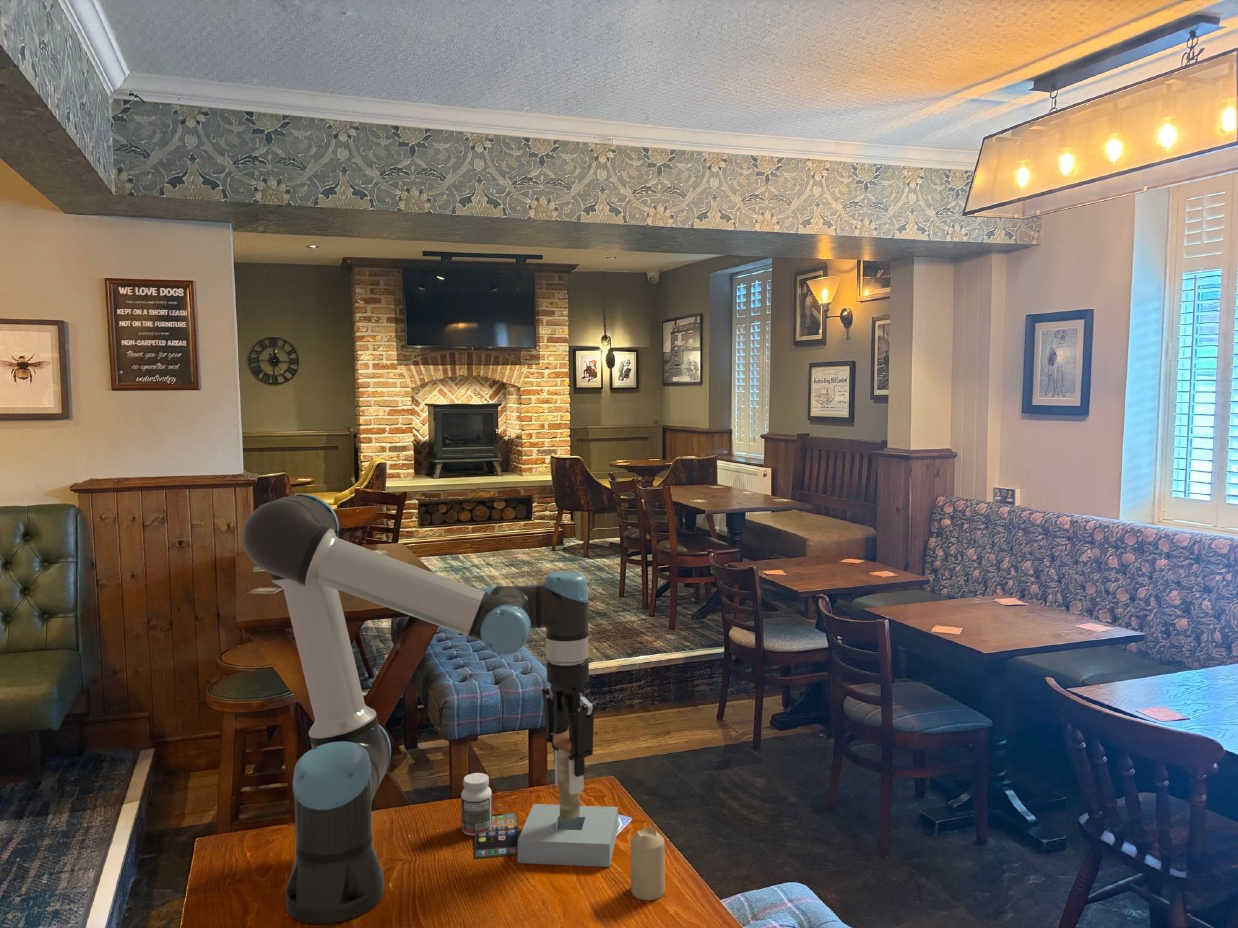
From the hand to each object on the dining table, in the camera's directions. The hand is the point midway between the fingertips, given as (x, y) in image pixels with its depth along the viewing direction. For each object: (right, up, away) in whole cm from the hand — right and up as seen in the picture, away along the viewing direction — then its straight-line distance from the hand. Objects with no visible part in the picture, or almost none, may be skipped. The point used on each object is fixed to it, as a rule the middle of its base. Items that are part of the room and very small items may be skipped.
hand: (569, 787), depth 155 cm
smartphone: (-14, -11, +4) cm, 18 cm away
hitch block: (0, -11, +1) cm, 10 cm away
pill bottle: (-18, -11, +7) cm, 22 cm away
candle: (+14, -12, -15) cm, 23 cm away
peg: (0, -5, 0) cm, 5 cm away
